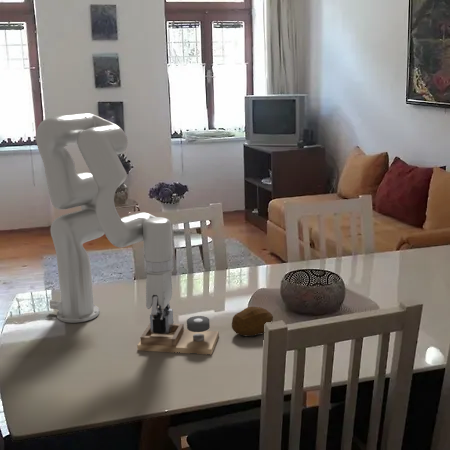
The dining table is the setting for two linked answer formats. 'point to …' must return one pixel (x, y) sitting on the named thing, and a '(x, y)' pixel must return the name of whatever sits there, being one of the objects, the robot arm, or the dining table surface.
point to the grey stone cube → (168, 320)
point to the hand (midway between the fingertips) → (162, 327)
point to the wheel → (198, 324)
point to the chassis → (179, 341)
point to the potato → (251, 321)
